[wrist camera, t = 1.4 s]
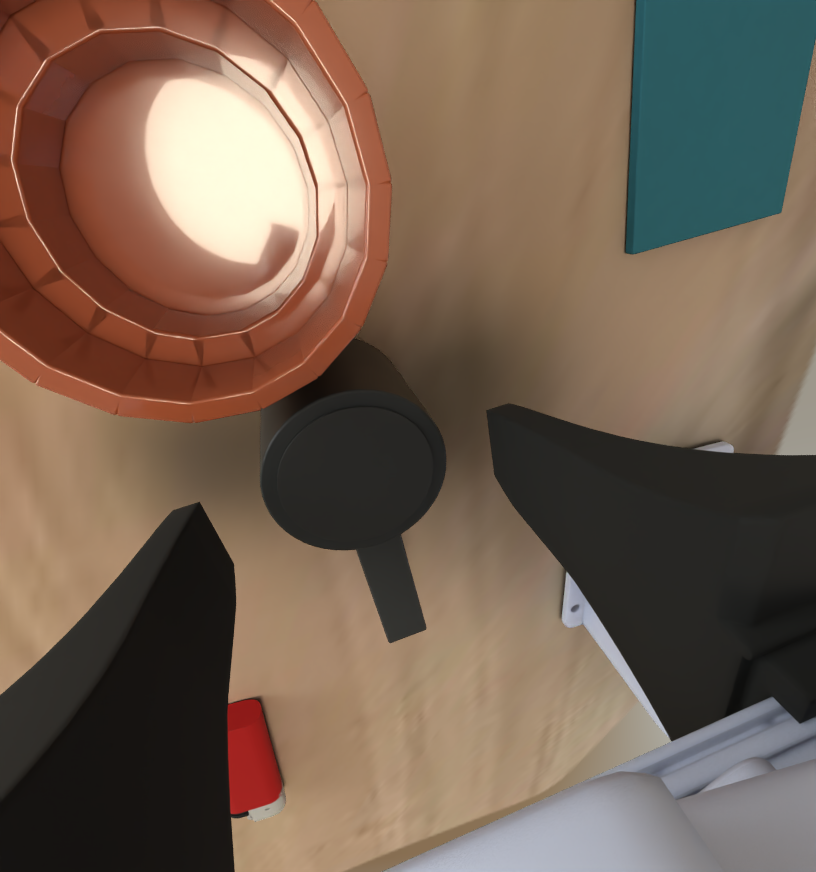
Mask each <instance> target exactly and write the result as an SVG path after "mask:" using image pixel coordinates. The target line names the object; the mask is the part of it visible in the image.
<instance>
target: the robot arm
mask: <svg viewBox="0 0 816 872" xmlns="http://www.w3.org/2000/svg"><path fill="white" fill-rule="evenodd" d="M486 411H487V419H488V427H489V435H490V443H491V451H492V459H493V467H494V475H495V477H496V479H497V480H498V482H499V484H500V485H501V487H502V489H503V491H504V492H505V494H506V495H507V497H508V499H509V500H510V502H511V503H512V505H513V506H514V507H515V509H516V510H517V511H518V512H519V514H520V515H521V516H522V517H523V519H524V520H525V521H526V522H527V524H528V525H529V526H530V527H531V528H532V530H533V531H534V532H535V533H536V534H537V536H538V537H539V538H540V539H541V541H542V542H543V543H544V544H545V545H546V547H547V548H548V549H549V550H550V551H551V553H552V554H553V555H554V556H555V557H556V559H557V560H558V561H559V562H560V563H561V565H562V566H563V567H564V568H565V570H566V571H567V572H566V581H565V591H564V601H563V611H562V622H563V623H564V625H565V626H566V627H569V628H572V627H575V626H579V625H582V624H583V625H584V626H585V627H586V629H587V630H588V631H589V633H590V634H591V635H592V637H593V638H594V640H595V641H596V642H597V644H598V645H599V646H600V648H601V649H602V651H603V652H604V653H605V655H606V656H607V657H608V659H609V660H610V662H611V663H612V664H613V666H614V667H615V668H616V670H617V671H618V673H619V674H620V675H621V677H622V678H623V679H624V681H625V682H626V684H627V685H628V686H629V688H630V689H631V690H632V692H633V693H634V694H635V696H636V697H637V699H638V700H639V701H640V703H641V704H642V705H643V707H644V708H645V709H646V711H647V712H648V714H649V715H650V716H651V718H652V719H653V721H654V722H655V723H656V724H657V725H658V727H659V728H660V729H661V730H662V731H663V732H664V733H665V734H666V735H667V736H668V737H669V738H670V740H671V741H672V742H670V743H667V744H665V745H663V746H661V747H659V748H656V749H654V750H652V751H650V752H647V753H645V754H643V755H641V756H638V757H636V758H634V759H632V760H630V761H627V762H625V763H623V764H621V765H618V766H616V767H614V768H612V769H609V770H607V771H605V772H603V773H601V774H599V775H596V776H594V777H592V778H590V779H587V780H585V781H583V782H581V783H578V784H576V785H574V786H572V787H570V788H567V789H565V790H563V791H561V792H559V793H556V794H554V795H552V796H549V797H547V798H545V799H543V800H541V801H538V802H536V803H534V804H532V805H529V806H527V807H525V808H523V809H520V810H518V811H516V812H514V813H511V814H509V815H507V816H505V817H502V818H500V819H498V820H496V821H494V822H491V823H489V824H487V825H485V826H482V827H480V828H478V829H476V830H474V831H471V832H469V833H467V834H465V835H462V836H460V837H458V838H456V839H453V840H451V841H449V842H447V843H445V844H443V845H440V846H438V847H436V848H434V849H431V850H429V851H427V852H425V853H422V854H420V855H418V856H416V857H413V858H411V859H409V860H407V861H404V862H402V863H400V864H398V865H396V866H393V867H392V868H389V869H387V870H384V871H383V872H816V455H793V456H792V455H787V456H786V455H762V454H741V453H733V452H734V448H733V446H732V445H730V444H729V443H727V442H725V441H723V442H718V443H714V444H710V445H706V446H702V447H698V448H694V449H688V448H680V447H673V446H666V445H661V444H655V443H650V442H644V441H639V440H634V439H629V438H625V437H620V436H616V435H613V434H609V433H605V432H601V431H597V430H593V429H590V428H587V427H583V426H580V425H576V424H573V423H570V422H567V421H564V420H561V419H558V418H555V417H551V416H548V415H545V414H542V413H539V412H536V411H533V410H530V409H527V408H524V407H521V406H517V405H514V404H509V403H508V404H505V405H502V406H499V407H496V408H492V409H489V410H486ZM235 612H236V587H235V573H234V563H233V561H232V560H231V558H230V556H229V554H228V552H227V551H226V549H225V547H224V545H223V543H222V541H221V540H220V538H219V536H218V534H217V532H216V531H215V529H214V527H213V525H212V523H211V522H210V520H209V518H208V516H207V514H206V513H205V511H204V509H203V507H202V505H201V504H200V502H198V503H194V504H191V505H188V506H185V507H182V508H179V509H176V510H173V511H172V512H171V513H170V514H169V515H168V516H167V517H166V518H165V520H164V521H163V522H162V523H161V524H160V526H159V527H158V528H157V529H156V530H155V532H154V533H153V534H152V535H151V537H150V538H149V539H148V540H147V542H146V543H145V544H144V546H143V547H142V548H141V549H140V550H139V552H138V553H137V554H136V555H135V557H134V558H133V559H132V560H131V562H130V563H129V564H128V565H127V567H126V568H125V569H124V570H123V571H122V573H121V574H120V575H119V576H118V577H117V579H116V580H115V581H114V582H113V583H112V584H111V585H110V587H109V588H108V589H107V590H106V591H105V592H104V593H103V595H102V596H101V597H100V598H99V599H98V600H97V601H96V603H95V604H94V605H93V606H92V607H91V608H90V609H89V611H88V612H87V613H86V614H85V615H84V616H83V617H82V618H81V619H80V620H79V621H78V622H77V624H76V625H75V626H74V627H73V628H72V629H71V630H70V631H69V632H68V633H67V634H66V635H65V636H64V637H63V638H62V639H61V640H60V641H59V642H58V643H57V644H56V645H55V646H54V647H53V648H52V649H51V650H50V651H49V652H48V653H47V654H46V655H45V656H44V657H42V658H41V659H40V660H39V661H38V662H37V663H36V664H35V665H34V666H33V667H32V668H31V669H30V670H29V671H27V672H26V673H25V674H24V675H23V676H22V677H21V678H19V679H18V680H17V681H16V682H15V683H14V684H13V685H11V686H10V687H9V688H8V689H7V690H6V691H5V692H3V693H2V694H1V695H0V872H235V871H234V856H233V841H232V826H231V810H230V787H229V763H228V693H229V681H230V670H231V659H232V648H233V637H234V624H235Z"/></svg>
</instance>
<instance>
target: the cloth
mask: <svg viewBox="0 0 816 872" xmlns="http://www.w3.org/2000/svg"><path fill="white" fill-rule="evenodd" d="M815 40H816V0H636V20H635V44H634V68H633V91H632V115H631V139H630V162H629V186H628V210H627V233H626V253H628V254H637V253H640V252H644V251H647V250H651V249H654V248H658V247H661V246H665V245H669V244H672V243H676V242H679V241H683V240H686V239H690V238H693V237H697V236H700V235H704V234H708V233H711V232H715V231H718V230H722V229H725V228H729V227H732V226H736V225H740V224H743V223H747V222H750V221H754V220H757V219H761V218H764V217H768V216H771V215H775V214H779V213H781V212H782V206H783V201H784V196H785V191H786V186H787V181H788V176H789V171H790V166H791V161H792V156H793V151H794V146H795V141H796V136H797V131H798V126H799V121H800V116H801V110H802V105H803V100H804V95H805V90H806V85H807V80H808V75H809V70H810V65H811V60H812V55H813V50H814V45H815Z"/></svg>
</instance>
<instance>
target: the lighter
mask: <svg viewBox="0 0 816 872" xmlns="http://www.w3.org/2000/svg"><path fill="white" fill-rule="evenodd" d="M228 763H229V787H230V810H231V817H232V818H242V817H245V816H247V818H248V819H249V820H254V821H255V822H256V821H259V820H262V819H265V818H269V817H272V816H274V815H276V814H278V813H280V812H281V811H282V810H283V808H284V806H285V803H286V796H285V792H284V788H283V781H282V779H281V777H280V774H279V770H278V767H277V763H276V759H275V756H274V752H273V748H272V745H271V741H270V738H269V734H268V730H267V727H266V723H265V719H264V716H263V712H262V709H261V705H260V703H259V702H258V701H257V700H253V699H250V700H244V701H240V702H236V703H232V704H228Z"/></svg>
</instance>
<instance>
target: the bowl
mask: <svg viewBox="0 0 816 872" xmlns="http://www.w3.org/2000/svg"><path fill="white" fill-rule="evenodd" d="M367 92H368V89H367V87H366V85H365V83H364V82H363V80H362V78H361V76H360V75H359V73H358V71H357V70H356V68H355V66H354V65H353V63H352V61H351V60H350V58H349V56H348V54H347V53H346V51H345V49H344V48H343V46H342V44H341V43H340V41H339V39H338V37H337V36H336V34H335V32H334V31H333V29H332V27H331V26H330V24H329V22H328V20H327V19H326V17H325V15H324V14H323V12H322V10H321V9H320V7H319V5H318V3H317V2H316V1H312V0H0V360H1V361H2V362H4V363H5V364H7V365H8V366H9V367H11V368H12V369H14V370H15V371H16V372H18V373H19V374H21V375H22V376H23V377H25V378H26V379H27V380H29V381H30V382H32V383H36V385H38V386H40V387H43V388H45V389H48V390H50V391H53V392H56V393H58V394H61V395H64V396H66V397H69V398H71V399H74V400H77V401H79V402H82V403H84V404H87V405H90V406H92V407H95V408H97V409H100V410H103V411H105V412H108V413H111V414H113V415H116V414H118V416H124V417H134V418H144V419H154V420H164V421H175V422H185V423H193V422H195V423H198V422H203V421H208V420H213V419H218V418H224V417H229V416H234V415H239V414H244V413H249V412H254V411H259V410H261V409H265V408H267V407H268V406H270V405H272V404H274V403H275V402H277V401H279V400H281V399H282V398H284V397H286V396H288V395H290V394H291V393H293V392H295V391H297V390H298V389H300V388H302V387H304V386H305V385H307V384H309V383H311V382H313V381H314V380H316V379H317V378H318V376H321V375H322V374H323V373H324V372H325V371H326V369H327V368H328V367H329V366H330V365H331V364H332V363H333V361H334V360H335V359H336V358H337V357H338V356H339V354H340V353H341V352H342V351H343V350H344V349H345V348H346V346H347V345H348V344H349V343H350V342H351V341H352V339H353V338H354V337H355V336H356V335H357V334H358V333H359V331H360V330H361V327H362V326H363V325H364V323H365V320H366V318H367V315H368V313H369V310H370V308H371V305H372V302H373V300H374V297H375V295H376V292H377V290H378V287H379V285H380V282H381V280H382V277H383V274H384V272H385V269H386V267H387V261H388V257H389V238H390V218H391V199H392V184H391V183H390V182H391V175H390V171H389V167H388V163H387V159H386V155H385V151H384V147H383V143H382V139H381V136H380V132H379V128H378V124H377V120H376V116H375V112H374V108H373V104H372V100H371V96H370V94H369V93H367Z"/></svg>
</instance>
